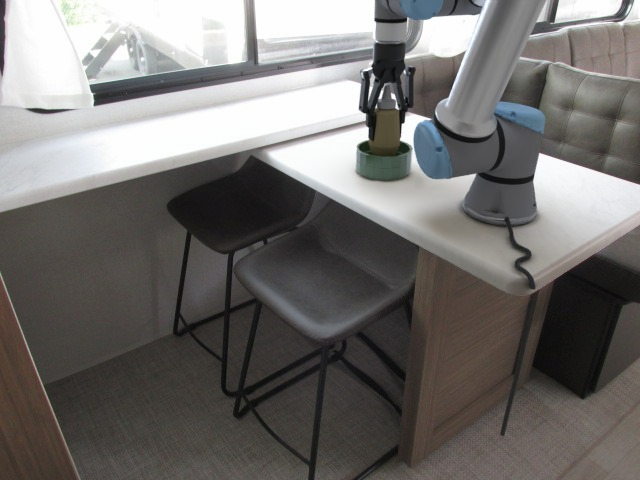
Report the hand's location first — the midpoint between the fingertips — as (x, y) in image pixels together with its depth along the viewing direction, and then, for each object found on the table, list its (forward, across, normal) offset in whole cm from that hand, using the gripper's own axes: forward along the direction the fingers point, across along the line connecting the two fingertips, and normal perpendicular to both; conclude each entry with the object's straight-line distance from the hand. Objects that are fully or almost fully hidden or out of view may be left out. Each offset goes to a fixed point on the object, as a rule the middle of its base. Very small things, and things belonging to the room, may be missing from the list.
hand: (384, 137), depth 129 cm
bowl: (+9, 0, 0) cm, 9 cm away
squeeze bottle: (+5, 0, 0) cm, 5 cm away
